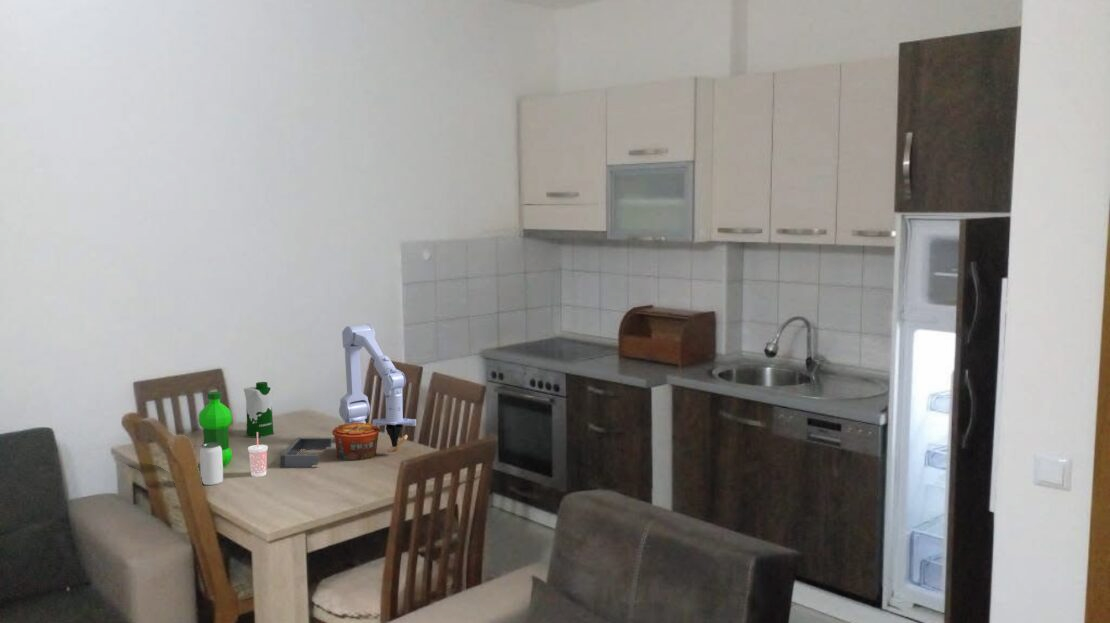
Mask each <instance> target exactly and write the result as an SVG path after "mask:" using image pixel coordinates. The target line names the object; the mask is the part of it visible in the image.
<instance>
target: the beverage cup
mask: <svg viewBox="0 0 1110 623" xmlns="http://www.w3.org/2000/svg"><path fill="white" fill-rule="evenodd" d="M268 449H269V445H266V444H259V438H258V432H257V437H256V444H255V445H250V446H248V447H247V451H248V454H249V455H248V456H249V466H250V468H249V469H250V476H252V477H257V478H258V477H263V476H266V475H267V464H268V463H267V461H268V460H267V459H268V458H267V456H268Z"/></svg>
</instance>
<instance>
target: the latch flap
mask: <svg viewBox="0 0 1110 623" xmlns="http://www.w3.org/2000/svg"><path fill="white" fill-rule="evenodd" d="M408 438H409V437H408V435H407V434H405V435H403V436H402V437H401V438H399V439H398V442H397V447H392V445H391V446H389V449H388V450H387V452H393V451H395V449H397V448H398V447H399V446H401V445H402V444H403V443H404V442H406V440H407V439H408Z"/></svg>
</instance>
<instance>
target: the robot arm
mask: <svg viewBox="0 0 1110 623" xmlns="http://www.w3.org/2000/svg"><path fill="white" fill-rule="evenodd" d="M341 337H342V348H343V349H344V359H345V360H344V361H345V377H346V378H345V379H346V382H345V383H346V394H345V395H344V396H342V397H341V399H339V400H340V402H339V404H340V405H339V409H338V411H339V412H338V413H339V415H340V418H341V419H342V420H343V421H344V424H351V423H365V424H367V422H366V419H368V417H369V414H370V413H371V406H370V403H369V397H368V396H367V395H366V394H364V393H363V391H362V388H363V387H362V371H361V370H362V368H361V351H360V350H361V349H362V348H363V347H364V349H365V350H366V351H367V352H368V354H369V355H370V357H371V358H372V359H373V361H374V363H373V367H374V368H375V370H376V372H377V373H378V374H379V377H380V378H381V379H382V380H381V386H382V388H383V393H384V394H383V395H384V396H385V418H373V420H372V424H373V426H385V430H386V432H387V434H388V436H389V439H390V442H391V446H392V447H397V442H398V441H399V437H400V434H401V431H402V429H403V427H404V426H412V427H416V426H417V419H416V418H404V417H403V416H404V414H403V410H404V409H403V406H404V405H403V404H404V402H403V399H404V398H403V389H404V388H405V387H406V384H407V380H406V379H407V378H406V375H405V373H404V372H403V371H401V370H399V369H397V368H396V366H395V365H394V364H393V362H392V360H391V358H390V357H389V356H387V355H384V353H383V352H382V350H381V348H380V346H379V344H378V342H377V340H376V330H375V329H374V327H373V326H372V325H371V324H370V323H366V324H361V325H353V326H351V325H348V326H345V327H344V329H343V330H342V331H341ZM397 448H398V447H397Z"/></svg>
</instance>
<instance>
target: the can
mask: <svg viewBox="0 0 1110 623" xmlns="http://www.w3.org/2000/svg"><path fill="white" fill-rule="evenodd" d="M200 447H201V448H200V449H199V461H200V463H199V465H200V478H201V477H202V481H203V484H204V485H203V484H202V485H203V486H216V485H219V484H221V483H222V482H223V481H224V468H223V460H222V448H221V446H220V443H206V444H204V443H203V444H201V445H200Z"/></svg>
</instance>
